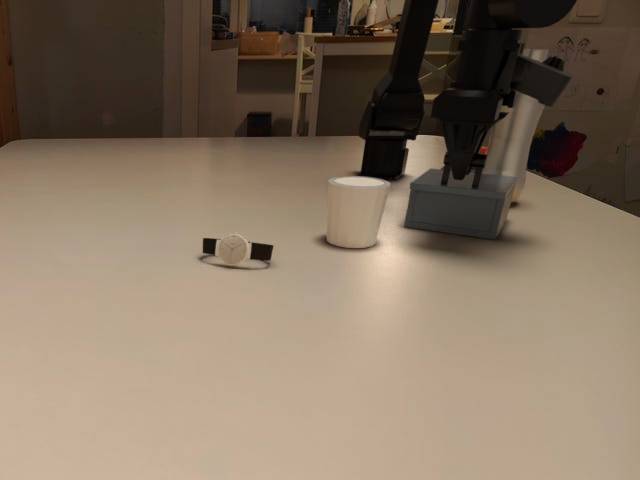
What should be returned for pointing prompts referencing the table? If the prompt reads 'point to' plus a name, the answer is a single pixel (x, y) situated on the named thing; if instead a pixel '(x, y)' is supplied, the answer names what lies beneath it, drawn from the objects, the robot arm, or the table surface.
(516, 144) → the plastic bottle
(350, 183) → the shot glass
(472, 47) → the robot arm
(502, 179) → the box lid
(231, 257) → the watch
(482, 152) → the button
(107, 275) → the table surface
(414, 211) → the grey box
